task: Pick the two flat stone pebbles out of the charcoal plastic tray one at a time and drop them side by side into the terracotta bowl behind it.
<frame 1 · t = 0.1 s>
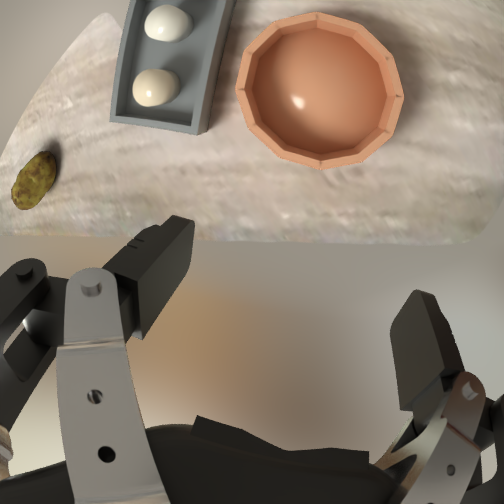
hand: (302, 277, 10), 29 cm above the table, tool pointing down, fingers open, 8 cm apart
pebble a: (176, 26, 28), point 1 cm above the table, touching tray
potato: (47, 175, 46), on the table
pebble b: (164, 87, 33), point 1 cm above the table, touching tray
tray: (173, 57, 31), on the table
bowl: (320, 89, 31), on the table
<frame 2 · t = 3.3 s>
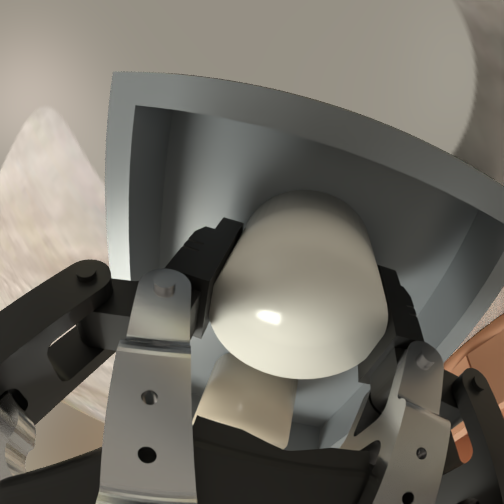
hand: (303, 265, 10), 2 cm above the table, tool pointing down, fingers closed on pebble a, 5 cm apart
pebble a: (305, 252, 11), point 1 cm above the table, touching gripper, tray
pebble b: (255, 378, 16), point 1 cm above the table, touching tray
tray: (278, 316, 14), on the table
when the fingers open (7 cm above the table, at t = 8.0 s): pebble a drops 5 cm, resting on bowl.
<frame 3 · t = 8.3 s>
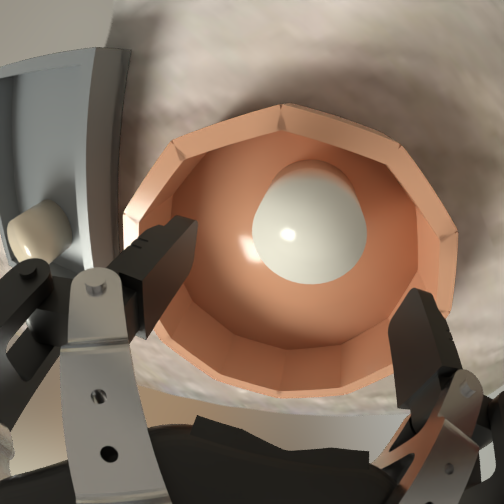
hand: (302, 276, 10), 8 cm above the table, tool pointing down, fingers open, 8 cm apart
pebble a: (311, 203, 16), point 1 cm above the table, touching bowl
pebble b: (53, 225, 21), point 1 cm above the table, touching tray
tray: (56, 174, 19), on the table
bowl: (291, 252, 19), on the table
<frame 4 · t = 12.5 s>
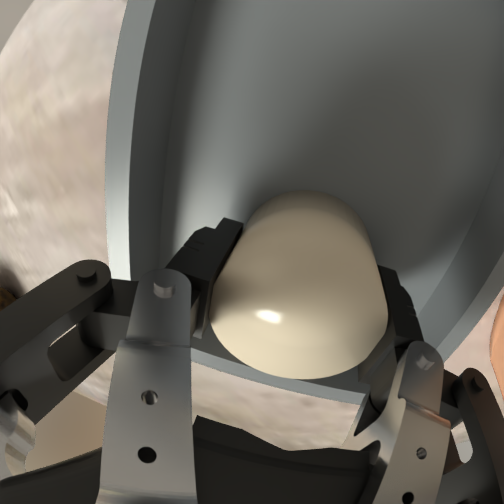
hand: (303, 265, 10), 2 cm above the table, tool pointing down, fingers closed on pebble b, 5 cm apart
potato: (12, 309, 24), on the table
pebble b: (305, 252, 11), point 1 cm above the table, touching gripper, tray
tray: (341, 135, 9), on the table
when the fingers open (7 cm above the table, at t = 16.9 s): pebble b drops 5 cm, resting on bowl.
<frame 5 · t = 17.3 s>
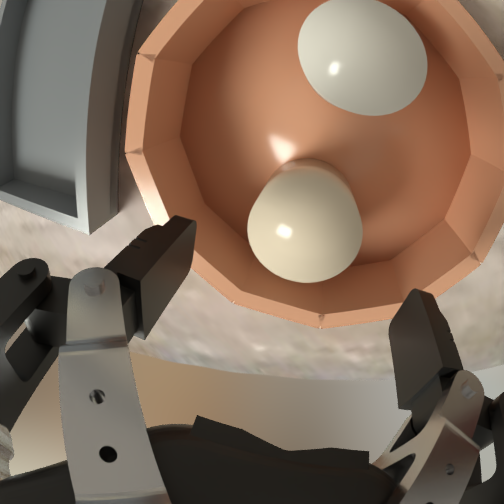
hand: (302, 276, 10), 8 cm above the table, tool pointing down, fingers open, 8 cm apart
pebble a: (352, 64, 11), point 1 cm above the table, touching bowl
pebble b: (308, 202, 16), point 1 cm above the table, touching bowl
tray: (59, 80, 15), on the table
bowl: (330, 131, 14), on the table
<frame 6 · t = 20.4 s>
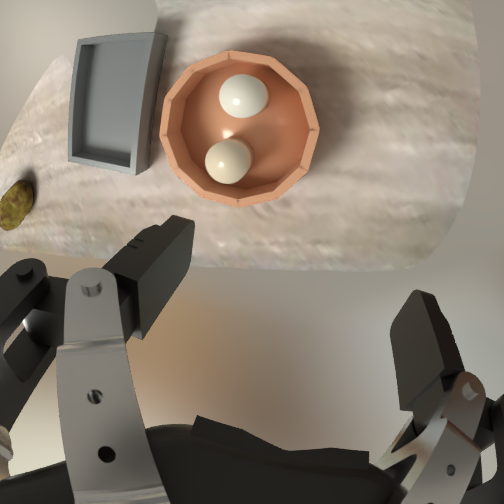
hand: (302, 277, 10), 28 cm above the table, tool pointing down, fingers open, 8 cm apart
pebble a: (249, 95, 31), point 1 cm above the table, touching bowl
potato: (26, 199, 49), on the table
pebble b: (235, 156, 35), point 1 cm above the table, touching bowl
tray: (116, 99, 35), on the table
bowl: (244, 125, 34), on the table
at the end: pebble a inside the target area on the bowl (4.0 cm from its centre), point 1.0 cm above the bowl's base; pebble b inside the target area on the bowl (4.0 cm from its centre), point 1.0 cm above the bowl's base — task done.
